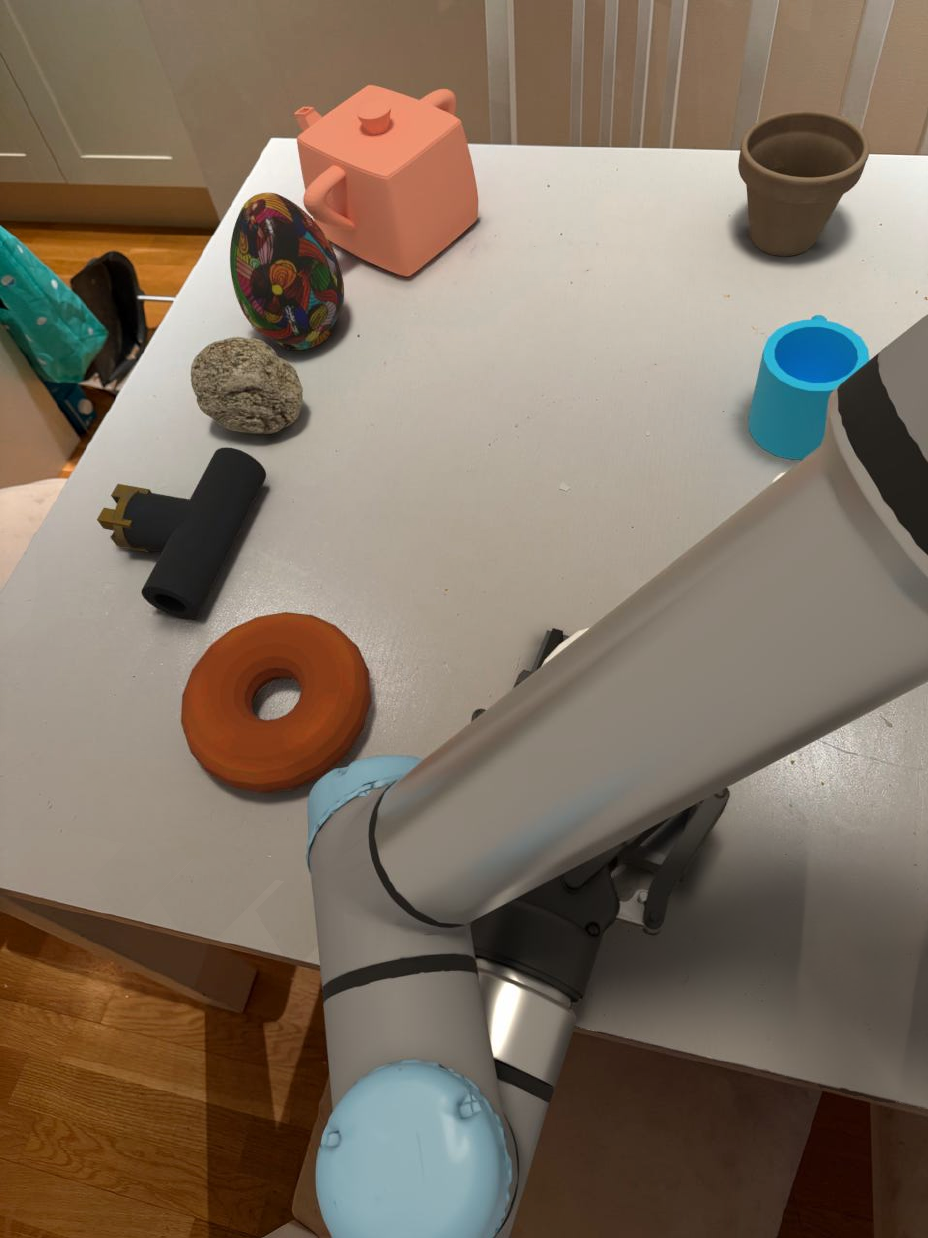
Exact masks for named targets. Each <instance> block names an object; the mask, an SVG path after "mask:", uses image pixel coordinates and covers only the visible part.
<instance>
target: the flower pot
mask: <svg viewBox="0 0 928 1238" xmlns="http://www.w3.org/2000/svg"><path fill="white" fill-rule="evenodd" d="M870 147H871V146H870V141H869V139H868V137H867V135H866V134H865V132H864V131H863V129H861V128H860V127H859V126H858V125H856V124H855V123H854V122H852V121H850V120H849V119H847V118H845V117H843V116H839V115H837V114H834V113H830V112H825V111H819V110H809V109H808V110H806V109H804V110H802V109H801V110H791V111H784V112H779V113H776V114H773V115H770V116H767V117H765V118H762V119H761V120H759V121H758V122H756V123H754V124H753V125H752V126H751V127H750V128H749V129H748V130H747V131H745V134H744V135H743V137H742V140H741V143H740V147H739V148H740V149H739V155H738V156H739V158H738V163H737V169H738V174H739V177H740V178H741V179H742V181H743V182H744V184H745V187H746V199H747V200H746V201H747V215H748V224H749V232H750V239H751V241H752V242H753V244H754V245H755V247H757V248H758V249H759V250H760V251H762V252H764V253H766V254H769V255H773V256H778V257H790V256H796V255H800V254H803V253H804V252H806V251H808V250H810V249H811V248H812V247H813V246H814V245H815V243H816V242H817V240H818V239H819V238H820V236H821V234H822V233H823V231H824V230H825V228H826V226H827V224H828V222H829V221H830V219H831V217H832V216H833V214H834V212H835V210H836V208H837V206H838V204H839V203H840V201H841V199H842V197H843V196H844V195H845V194H846V193H848V192H850V190H852V189H853V188H854V187H855V186H856V185H857V184H858V183H859V181H860V179H861V177H862V175H863V172H864V169H865V166H866V164H867V161H868V159H869V156H870V153H871V152H870V150H871V148H870Z"/></svg>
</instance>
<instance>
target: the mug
mask: <svg viewBox="0 0 928 1238" xmlns="http://www.w3.org/2000/svg"><path fill="white" fill-rule="evenodd" d="M869 360H870V353H869V348H868V346H867V345H866V343H865V341H864V340H863V338H862V337H861V336H860V335H859V334H857V333H856V332H855V331H854V330H852V329H851V328H849V327H847V326H845V325H843V324H840V323H838V322H834V321H829V320H828V319H827V318H826V317H825V316H824V315H821V314H815V315H813V316H812V317H811V319H802V320H797V321H793V322H789V323H787V324H785V325H783V326H781V327H779V328H777V329H776V330H775V331H774V332H772V333H771V335H769V336H768V338H767V340H766V342H765V344H764V346H763V350H762V353H761V359H760V362H759V363H760V364H759V368H758V372H757V378H756V382H755V386H754V391H753V396H752V401H751V405H750V409H749V415H748V430H749V432H750V434H751V437H752V439H753V440H754V441H755V442H756V443H757V444H758V446H760V448H762V449H763V450H765V451H766V452H768V453H770V454H772V455H774V456H777V457H780V458H784V459H788V460H800V461H801V460H803V459H804V458H805V457H806V456H808V455H809V454H810V453H812V452H813V451H814V450H815V449H817V448H818V447H819V446H820V445H821V443H822V440H823V438H824V433H825V425H826V416H827V407H828V399H829V397H830V394H831V393H832V392H833V391H834V390H835V389H836V388H837V387H838V386H839V385H840V384H841V383H843V382H844V381H845V380H846V379H848V378H849V377H850V376H851V375H853V374H854V373H855V372H856V371H857V370H859V369H860V368H861V367H862V366H863V365H865V364H866V363H867V362H868V361H869Z"/></svg>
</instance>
